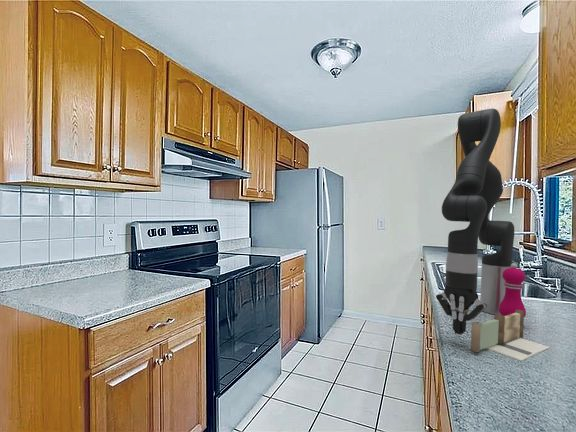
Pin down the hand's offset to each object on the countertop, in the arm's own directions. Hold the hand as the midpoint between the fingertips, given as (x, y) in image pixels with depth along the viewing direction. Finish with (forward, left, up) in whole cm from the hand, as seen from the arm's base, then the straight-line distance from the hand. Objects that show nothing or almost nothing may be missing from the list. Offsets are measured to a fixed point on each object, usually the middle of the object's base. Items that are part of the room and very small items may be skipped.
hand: (458, 333), depth 87 cm
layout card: (-12, +7, -3) cm, 14 cm away
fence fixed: (-16, +5, -3) cm, 17 cm away
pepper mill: (-31, -1, -3) cm, 31 cm away
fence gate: (-3, +5, -2) cm, 6 cm away
